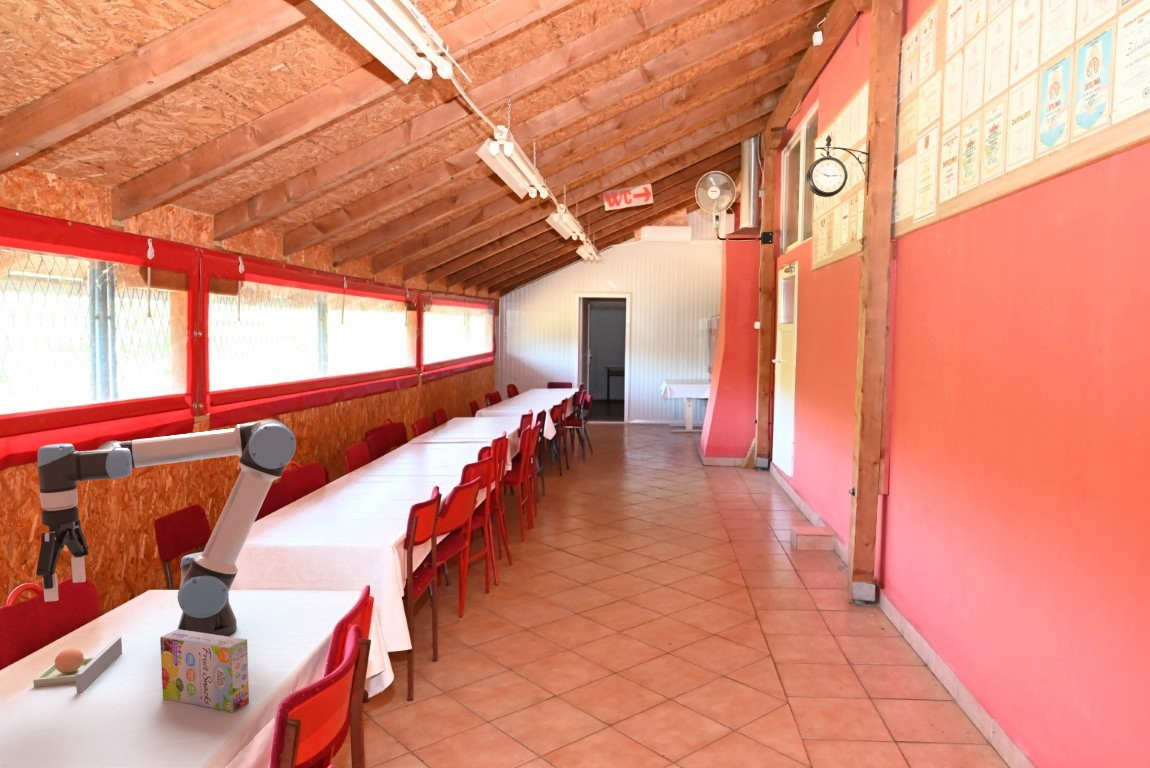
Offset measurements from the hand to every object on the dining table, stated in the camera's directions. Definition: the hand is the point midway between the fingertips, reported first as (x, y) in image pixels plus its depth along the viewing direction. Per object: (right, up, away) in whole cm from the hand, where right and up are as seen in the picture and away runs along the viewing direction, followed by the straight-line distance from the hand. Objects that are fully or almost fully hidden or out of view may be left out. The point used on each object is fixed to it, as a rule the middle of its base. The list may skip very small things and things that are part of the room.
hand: (66, 591), depth 183 cm
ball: (0, -18, +1) cm, 18 cm away
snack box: (+41, -22, -13) cm, 48 cm away
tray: (0, -21, +1) cm, 21 cm away
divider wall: (+7, -21, +3) cm, 22 cm away
